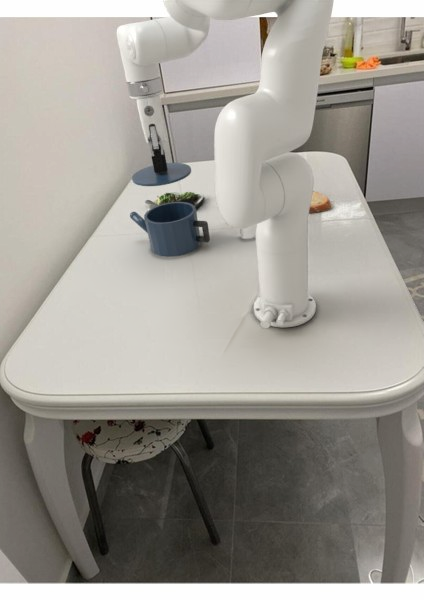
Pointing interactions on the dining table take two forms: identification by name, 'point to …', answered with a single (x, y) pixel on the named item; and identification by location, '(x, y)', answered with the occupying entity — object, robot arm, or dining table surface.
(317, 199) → the slice of bread
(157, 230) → the teapot
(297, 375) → the dining table surface
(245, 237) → the eye dropper bottle
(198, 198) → the salad plate
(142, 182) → the teapot lid
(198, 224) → the teapot spout and handle
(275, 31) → the robot arm
